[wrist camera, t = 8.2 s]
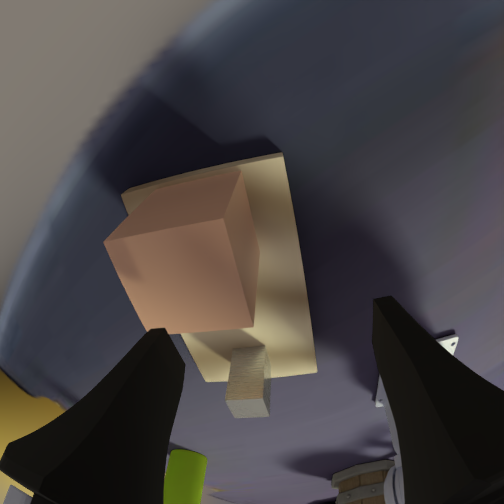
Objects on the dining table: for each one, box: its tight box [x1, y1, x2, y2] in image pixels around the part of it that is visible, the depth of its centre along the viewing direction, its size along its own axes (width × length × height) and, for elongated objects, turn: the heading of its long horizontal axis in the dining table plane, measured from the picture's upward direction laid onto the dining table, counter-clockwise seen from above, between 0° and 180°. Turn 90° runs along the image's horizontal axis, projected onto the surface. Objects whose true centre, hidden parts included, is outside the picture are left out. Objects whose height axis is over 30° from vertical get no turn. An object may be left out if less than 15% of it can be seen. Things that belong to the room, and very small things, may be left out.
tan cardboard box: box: [104, 171, 260, 334], centre depth 15 cm, size 5×5×7 cm
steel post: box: [225, 345, 271, 418], centre depth 22 cm, size 3×3×5 cm
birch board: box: [121, 152, 317, 382], centre depth 21 cm, size 18×10×1 cm, turn 13°
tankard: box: [331, 460, 395, 504], centre depth 34 cm, size 20×13×15 cm, turn 144°
